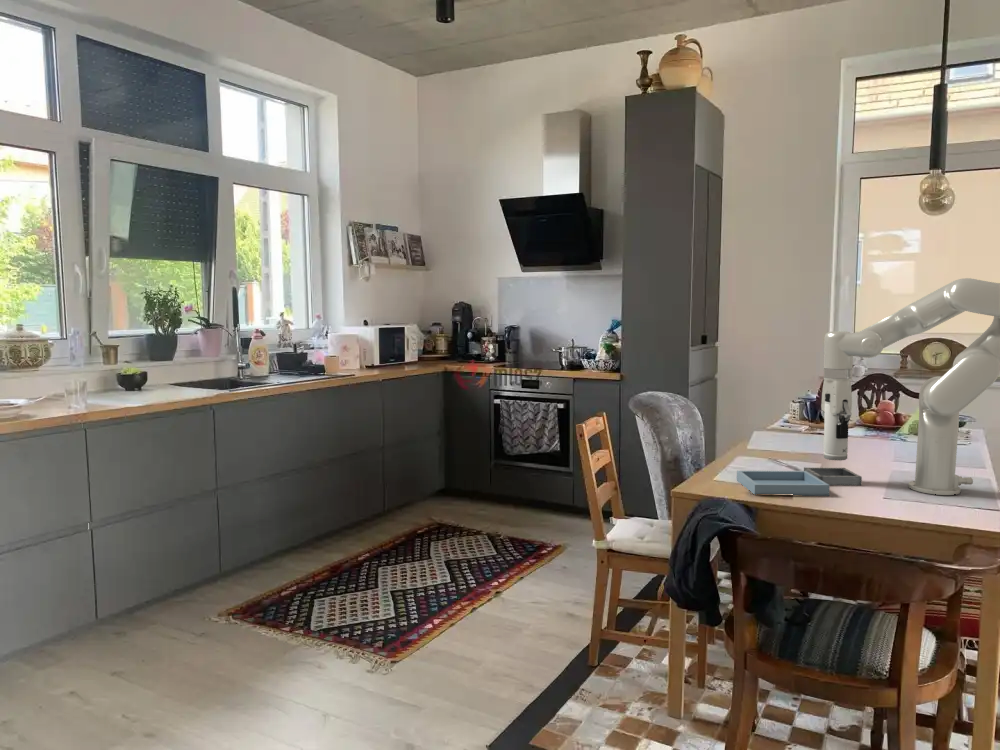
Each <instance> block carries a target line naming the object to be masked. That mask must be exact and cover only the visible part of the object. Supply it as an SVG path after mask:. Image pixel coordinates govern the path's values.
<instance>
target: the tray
mask: <svg viewBox="0 0 1000 750" xmlns="http://www.w3.org/2000/svg"><path fill="white" fill-rule="evenodd" d="M736 480H737V481H738V482H737V481H736V482H737V483H739V484H740V483H741V484H742V485H743V486H744V487H743V486H742V485H741V484H740V485H741V486H742V487H743V488H745V487H746V488H747V489H748V490H750V491H751V492H752V493H753V494H755V495H756V494H793V495H802V496H801V497H830V487H831V485H829V484H827V483H825V482H824V481H822V480H820V479H819V478H817V477H815V476H813V475H812V474H810V473H808V472H807V471H804V470H736ZM746 488H745V489H746ZM747 489H746V490H747ZM748 490H747V491H748ZM750 491H749V492H750ZM751 492H750V493H751ZM752 493H751V494H752ZM753 494H752V495H753Z"/></svg>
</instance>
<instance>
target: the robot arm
mask: <svg viewBox="0 0 1000 750" xmlns="http://www.w3.org/2000/svg"><path fill="white" fill-rule="evenodd" d="M964 312H969V313H974V314H978V315H979V314H980V315H984V316H989V317H990V316H992V317H993V319H992V322H991V324H990V325H989V327H988V328H987V329H985V330H984V332H983V333H982V334H981V335H979V337H977V339H975V340H974V341H973V342H972V343H970V344H969V345H968V346H967V347H966V348H965V349H963V350H962V351H961V352H960V353H958V354H957V355H956V357H955V358H954V360H953V363H952V367H951V368H949V369H948V371H946V372H945V373H944V374H943V375H942V376H933V377H930V378H929V379H927V380H926V381H925V382H924V383H923V384H922V386H921V387H920V390H919V395H918V429H917V440H916V441H917V443H916V460H915V475H914V476H915V477H914V480H911V481H909V482H908V484H907V486H908V488H909V489H910V488H911V490H912V491H915V492H919V493H924V494H928V495H935V494H936V495H937V496H955V495H954V494H956V495H959V494H961V493H960V492H962V491H961V490H962V489H961V488H960V486H962V485H970V486H971V485H973V484H974V483H973V482H974V481H973V480H974V479H973V478H972V477H962V475H960V476H959V475H957V474H956V467H957V456H958V455H957V453H958V452H957V451H958V450H957V449H958V441H959V440H958V439H959V426H960V423H959V422H960V412H961V411H962V410H964V409H965V408H966V407H967V406H969V405H970V404H971V403H972V402H974V400H976V399H977V398H978V397H979V396H980V395H982V394H983V393H984V392H985V391H986V390H987V389H989V387H991V386H992V385H993V384H994V383H995V382H996V380H997V379H998V378H999V376H1000V282H993V281H987V280H981V279H977V278H971V277H970V278H969V277H966V278H958V279H956V280H953V281H951V282H949V283H948V284H945V285H943V286H941V287H940V288H938V289H936V290H934V291H933V292H930V293H929V294H927V295H925V296H923V297H921V298H919V299H917V300H916V301H914V302H913V301H912V302H911V303H910V304H908V305H906V306H904V307H902V308H900V310H897V311H896V312H894V313H892V314H891V315H889V316H886V317H885V318H883V319H881V320H879V321H877V322H875V323H873V324H872V325H870V326H868V327H865V328H864V329H862V330H860V331H859V332H850V331H844V330H843V331H842V330H841V331H839V330H838V331H837V330H836V331H828V332H826V333H825V334H824V339H823V340H824V343H823V344H824V345H823V348H824V351H823V355H824V356H823V382H822V383H823V385H822V390H821V405H820V407H821V411H823V412H824V413H825V399H826V398H825V394H830V396H831V397H830V414H832V415H836V414H837V422H838V425H836V438H837V439H847V438H849V425H850V420H851V419H850V418H851V417H852V408H853V406H852V404H853V403H852V402H853V401H852V400H853V399H852V398H853V396H852V394H853V393H852V382H851V381H853V366H854V365H853V359H854V357H858V358H865V359H872V358H874V357H875V358H876V357H877V356H879V355H880V354H881V353H882V352H883V350H884V349H885V348H886V347H889V346H890V345H893V344H895V343H897V342H899V341H901V340H904V339H905V338H908V337H912V336H915V335H919V334H920V335H921V334H923V333H925V332H928V331H930V330H931V329H933V328H935V327H937V326H940V325H941V324H943V323H944V322H945V323H946V322H947V321H948V320H950V319H952V318H954V317H956V316H958V315H960V314H963V313H964ZM840 411H844V413H845V414H839V413H840ZM840 416H843V417H842V418H840Z"/></svg>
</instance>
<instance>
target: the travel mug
mask: <svg viewBox="0 0 1000 750" xmlns="http://www.w3.org/2000/svg"><path fill="white" fill-rule="evenodd" d="M830 397H831V396H830V394H825V398H826V399H825V412H824V420H823V421H824V422H823V425H824V426H823V427H824V429H823V431H824V432H823V434H824V435H823V458H824V459H826V460H829V461H846V460H847V459H848V452H849V450H848V449H849V447H848V445H849V439H848V438H849V437H848V438H847V439H837V438H836V425H838V422H837V414H836V415H832V414H830ZM839 414H845V413H844V411H840V413H839ZM842 417H843V416H840V418H842Z"/></svg>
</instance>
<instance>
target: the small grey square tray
mask: <svg viewBox="0 0 1000 750" xmlns="http://www.w3.org/2000/svg"><path fill="white" fill-rule="evenodd" d="M803 471H807V472H808V473H810V474H812V475H813V476H815V477H817V478H819V479H820V480H822V481H824V482H825V483H827V484H829V485H830V486H862V480H863V479H862V476H861V475H859V474H857V473H855V472H853V471H851V470H850V469H848V468H846V467H803Z"/></svg>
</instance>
